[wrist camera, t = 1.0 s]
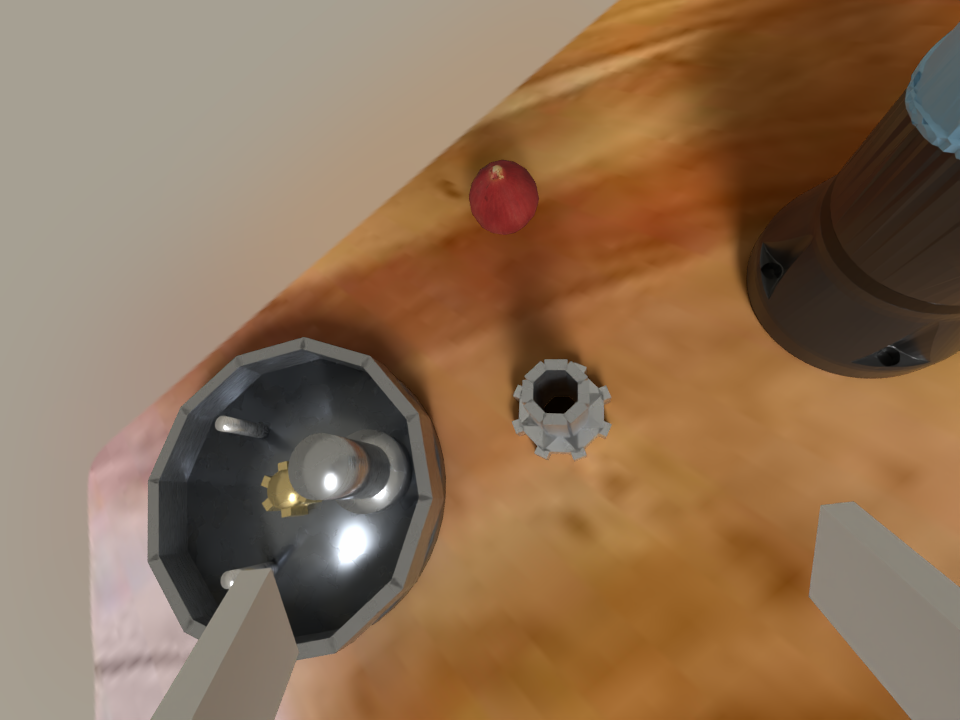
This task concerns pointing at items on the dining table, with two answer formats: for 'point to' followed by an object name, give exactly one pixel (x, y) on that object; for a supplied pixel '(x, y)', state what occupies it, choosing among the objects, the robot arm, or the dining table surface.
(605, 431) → the planet gear
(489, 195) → the onion
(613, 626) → the dining table surface
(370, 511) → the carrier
